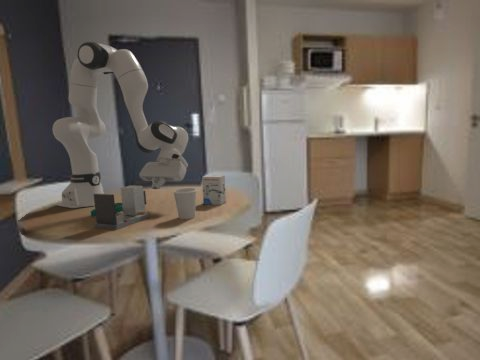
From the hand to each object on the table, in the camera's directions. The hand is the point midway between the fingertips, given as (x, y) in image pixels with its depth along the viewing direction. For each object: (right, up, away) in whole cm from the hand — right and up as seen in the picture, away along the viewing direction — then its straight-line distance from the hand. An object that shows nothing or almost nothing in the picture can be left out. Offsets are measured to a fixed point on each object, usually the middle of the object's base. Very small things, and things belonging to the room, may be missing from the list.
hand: (155, 188), depth 142 cm
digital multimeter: (-18, -10, +3) cm, 21 cm away
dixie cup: (+14, -10, -13) cm, 22 cm away
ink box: (+23, -7, +9) cm, 25 cm away
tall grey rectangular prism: (-4, -9, -9) cm, 14 cm away
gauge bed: (-8, -12, -15) cm, 20 cm away
